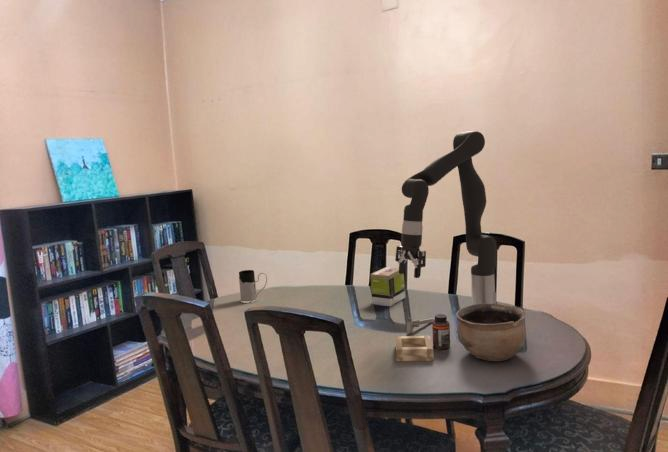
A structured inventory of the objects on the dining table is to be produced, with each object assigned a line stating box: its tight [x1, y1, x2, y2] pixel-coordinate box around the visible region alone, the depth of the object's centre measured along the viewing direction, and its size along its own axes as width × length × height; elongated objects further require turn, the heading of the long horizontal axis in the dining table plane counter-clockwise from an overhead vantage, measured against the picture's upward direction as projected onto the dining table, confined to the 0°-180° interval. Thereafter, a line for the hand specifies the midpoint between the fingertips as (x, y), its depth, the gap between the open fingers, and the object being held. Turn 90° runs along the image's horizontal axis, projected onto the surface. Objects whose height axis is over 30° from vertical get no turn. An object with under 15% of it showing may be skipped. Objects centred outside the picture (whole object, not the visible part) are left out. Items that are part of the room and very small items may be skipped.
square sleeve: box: [394, 335, 434, 362], centre depth 166 cm, size 12×12×4 cm
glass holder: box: [238, 269, 268, 301], centre depth 242 cm, size 9×14×15 cm, turn 96°
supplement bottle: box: [431, 313, 451, 350], centre depth 170 cm, size 6×6×11 cm
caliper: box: [406, 317, 435, 336], centre depth 191 cm, size 20×1×6 cm, turn 137°
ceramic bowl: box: [455, 303, 527, 362], centre depth 159 cm, size 22×22×15 cm
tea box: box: [370, 266, 406, 307], centre depth 227 cm, size 15×10×15 cm
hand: (409, 275), depth 182 cm, fingers open, 8 cm apart
